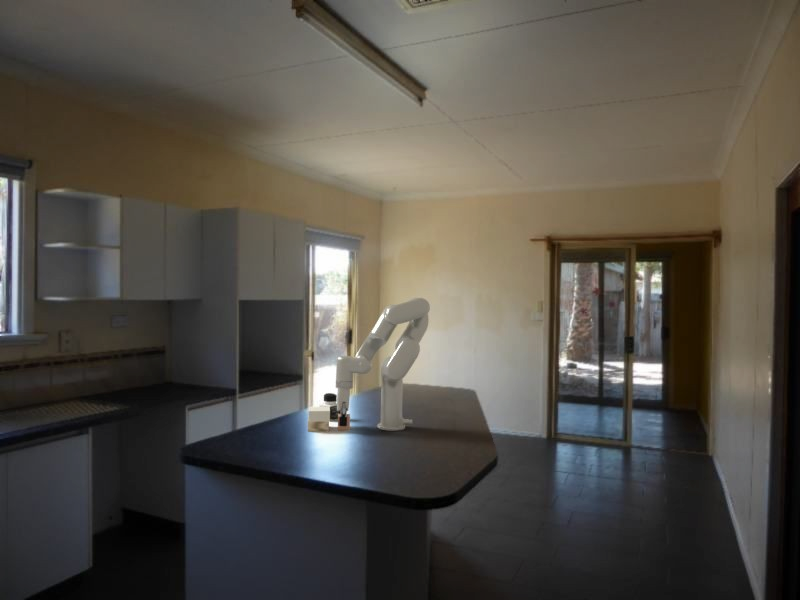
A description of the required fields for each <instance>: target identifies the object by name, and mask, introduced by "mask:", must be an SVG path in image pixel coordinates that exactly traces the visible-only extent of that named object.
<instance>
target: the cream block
mask: <svg viewBox="0 0 800 600" xmlns="http://www.w3.org/2000/svg"><path fill="white" fill-rule="evenodd" d="M308 417H309V421H308V420H307V423H308V422H326V421H329V423H330V422H331V421H330V407H320V406H308Z"/></svg>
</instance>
